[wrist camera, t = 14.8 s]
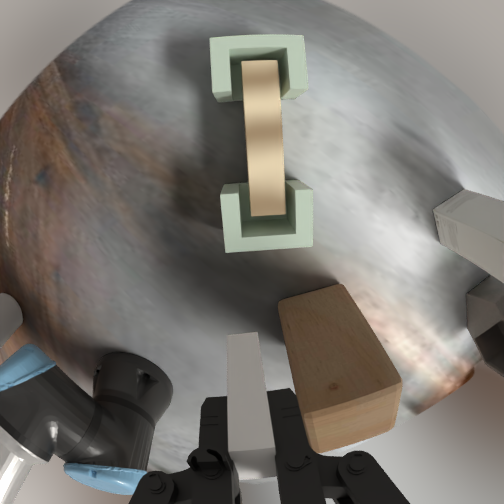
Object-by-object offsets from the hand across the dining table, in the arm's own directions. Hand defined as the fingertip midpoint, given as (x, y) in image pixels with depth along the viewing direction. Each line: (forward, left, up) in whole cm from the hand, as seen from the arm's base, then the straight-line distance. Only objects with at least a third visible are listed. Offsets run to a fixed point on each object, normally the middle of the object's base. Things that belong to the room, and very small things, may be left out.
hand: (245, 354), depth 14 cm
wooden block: (+10, -15, -23) cm, 29 cm away
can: (-46, -12, -23) cm, 53 cm away
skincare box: (+33, 0, -23) cm, 40 cm away
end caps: (+3, +10, -23) cm, 25 cm away
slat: (+3, +11, -22) cm, 25 cm away
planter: (+47, -19, -23) cm, 56 cm away
